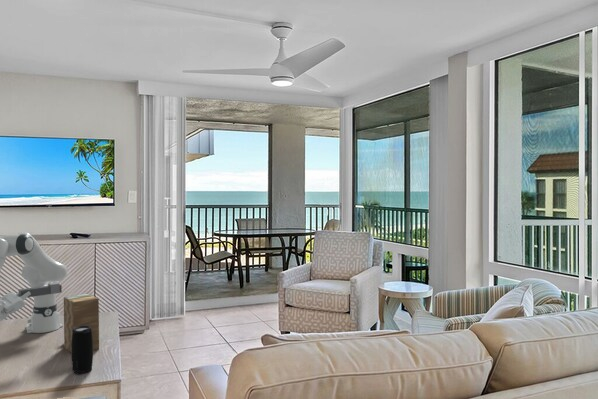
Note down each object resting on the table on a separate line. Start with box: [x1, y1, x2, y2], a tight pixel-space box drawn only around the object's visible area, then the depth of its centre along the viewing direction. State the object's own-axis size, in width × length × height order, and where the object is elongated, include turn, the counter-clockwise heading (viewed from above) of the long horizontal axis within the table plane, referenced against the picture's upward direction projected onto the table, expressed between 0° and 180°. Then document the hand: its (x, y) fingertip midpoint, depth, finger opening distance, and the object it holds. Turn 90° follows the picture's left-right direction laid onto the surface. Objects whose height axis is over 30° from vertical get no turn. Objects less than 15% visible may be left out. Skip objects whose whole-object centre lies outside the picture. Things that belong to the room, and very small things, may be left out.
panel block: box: [63, 293, 100, 354], centre depth 236 cm, size 15×12×26 cm
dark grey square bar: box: [18, 281, 63, 298], centre depth 226 cm, size 5×18×5 cm, turn 134°
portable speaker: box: [71, 325, 94, 375], centre depth 207 cm, size 9×9×20 cm
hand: (28, 291), depth 222 cm, fingers closed on dark grey square bar, 4 cm apart
